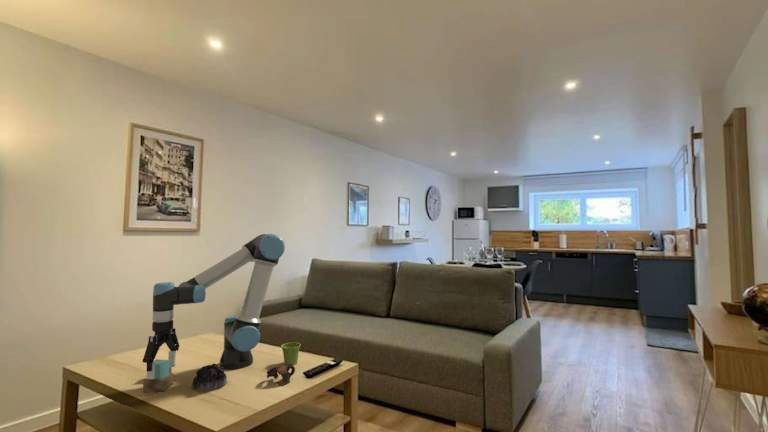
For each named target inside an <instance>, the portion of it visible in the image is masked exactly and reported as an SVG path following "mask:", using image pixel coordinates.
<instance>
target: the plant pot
mask: <svg viewBox="0 0 768 432" xmlns="http://www.w3.org/2000/svg"><path fill="white" fill-rule="evenodd" d="M301 345H302V344H301V343H299V342H287V343H283V344H282V345H281V346H280V347H281V348H282V349H281V350H282V355H283V362H284V365H286V366H289V365H295V364H297V363H298V360H299V359H298V358H299V353H300V347H301Z"/></svg>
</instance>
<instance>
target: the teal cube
mask: <svg viewBox="0 0 768 432" xmlns="http://www.w3.org/2000/svg"><path fill="white" fill-rule="evenodd" d="M153 362H155V378H154V379H159V380H160V379H162V378H164V377H165V376H167V375H169V360H168V359H154V361H153Z"/></svg>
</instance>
